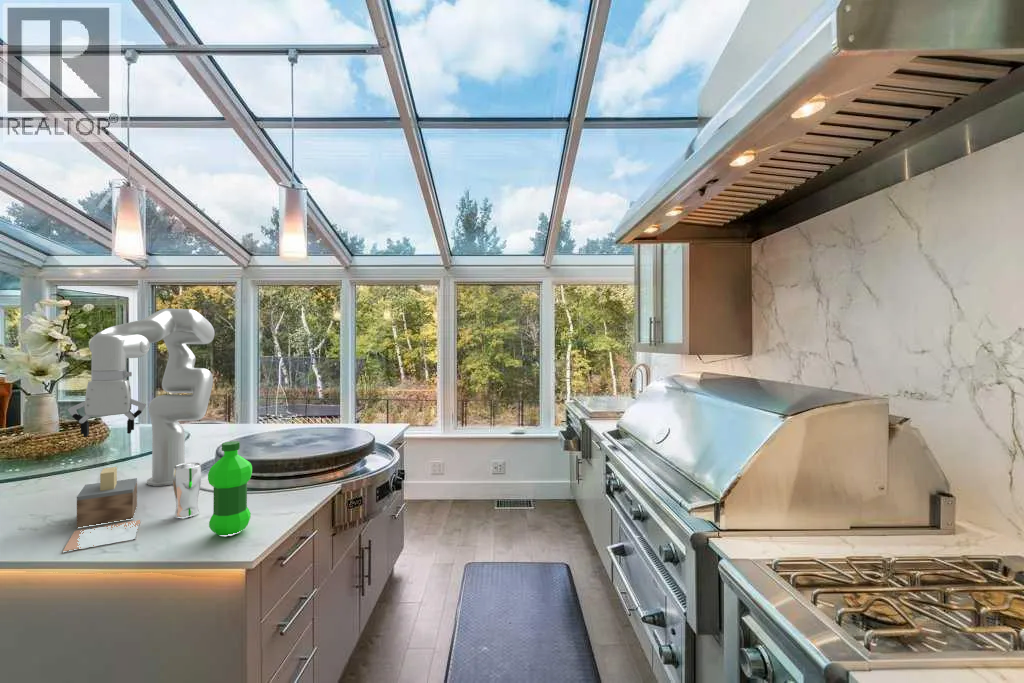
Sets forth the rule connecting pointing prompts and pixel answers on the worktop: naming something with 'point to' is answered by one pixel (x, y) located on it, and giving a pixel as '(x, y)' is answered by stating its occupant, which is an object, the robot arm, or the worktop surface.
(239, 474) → the plastic bottle
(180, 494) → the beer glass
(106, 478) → the lid
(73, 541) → the terracotta mat
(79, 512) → the walnut box
